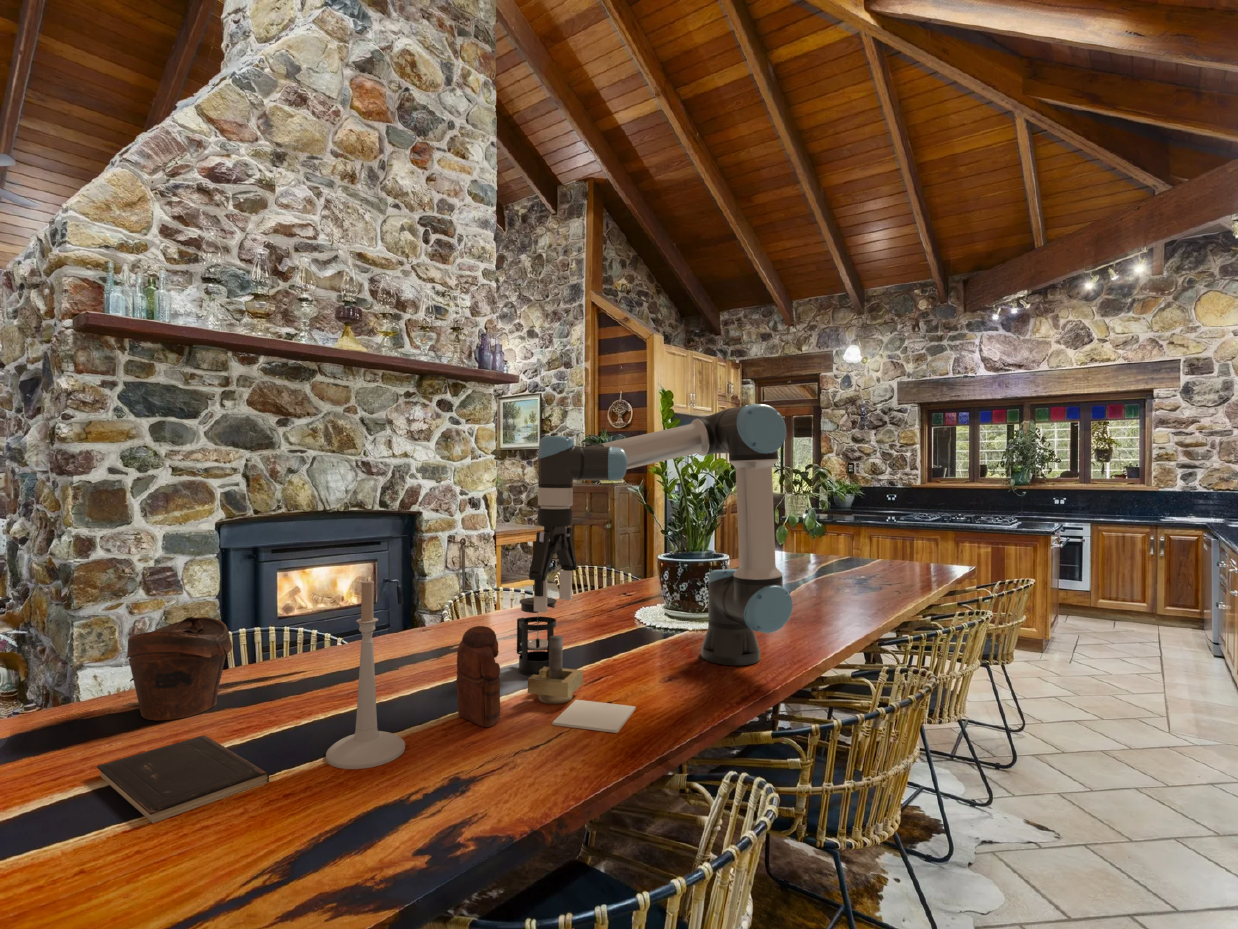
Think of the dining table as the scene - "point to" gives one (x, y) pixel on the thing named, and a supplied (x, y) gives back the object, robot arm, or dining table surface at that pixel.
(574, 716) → the felt mat
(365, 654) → the candlestick
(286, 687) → the dining table surface
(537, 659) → the french press
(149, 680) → the case
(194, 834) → the dining table surface
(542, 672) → the brass C-link
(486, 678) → the wooden figurine
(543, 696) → the peg stand
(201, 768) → the hardcover book
